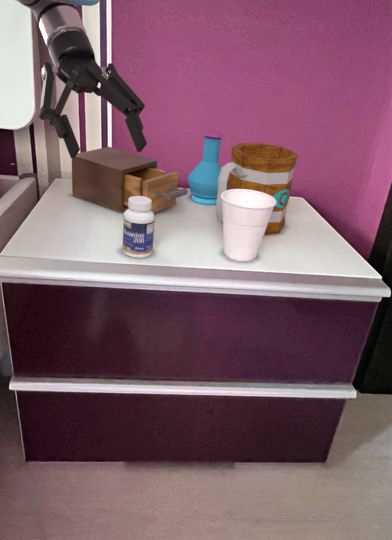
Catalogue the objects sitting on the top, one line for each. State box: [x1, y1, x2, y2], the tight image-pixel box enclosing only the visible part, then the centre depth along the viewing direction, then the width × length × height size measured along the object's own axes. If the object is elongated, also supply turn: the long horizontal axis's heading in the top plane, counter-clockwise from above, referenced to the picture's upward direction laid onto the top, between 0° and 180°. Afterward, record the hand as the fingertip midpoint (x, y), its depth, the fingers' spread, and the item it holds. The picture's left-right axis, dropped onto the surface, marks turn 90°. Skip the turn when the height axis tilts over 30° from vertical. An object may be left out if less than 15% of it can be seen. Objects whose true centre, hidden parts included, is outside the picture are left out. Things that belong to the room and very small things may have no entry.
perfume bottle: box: [187, 129, 229, 205], centre depth 126 cm, size 9×9×15 cm
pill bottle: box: [122, 196, 156, 259], centre depth 99 cm, size 5×5×10 cm
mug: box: [215, 142, 299, 236], centre depth 114 cm, size 20×14×15 cm
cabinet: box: [71, 146, 158, 213], centre depth 122 cm, size 14×12×9 cm
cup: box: [221, 189, 277, 262], centre depth 102 cm, size 10×10×11 cm
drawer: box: [123, 167, 189, 214], centre depth 118 cm, size 17×11×7 cm, turn 56°
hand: (110, 151), depth 99 cm, fingers open, 13 cm apart
